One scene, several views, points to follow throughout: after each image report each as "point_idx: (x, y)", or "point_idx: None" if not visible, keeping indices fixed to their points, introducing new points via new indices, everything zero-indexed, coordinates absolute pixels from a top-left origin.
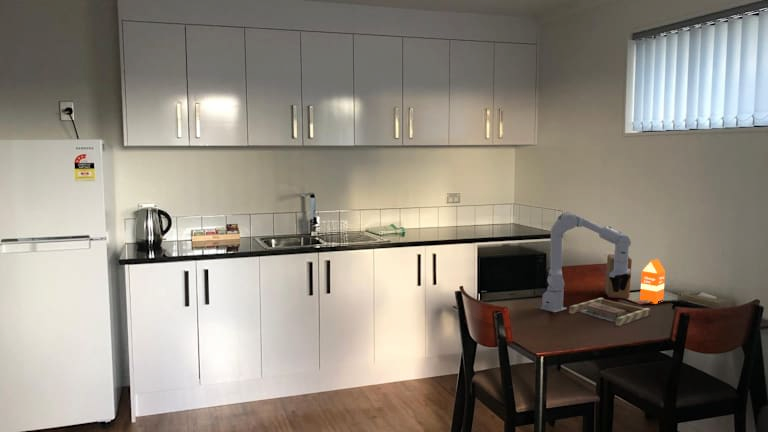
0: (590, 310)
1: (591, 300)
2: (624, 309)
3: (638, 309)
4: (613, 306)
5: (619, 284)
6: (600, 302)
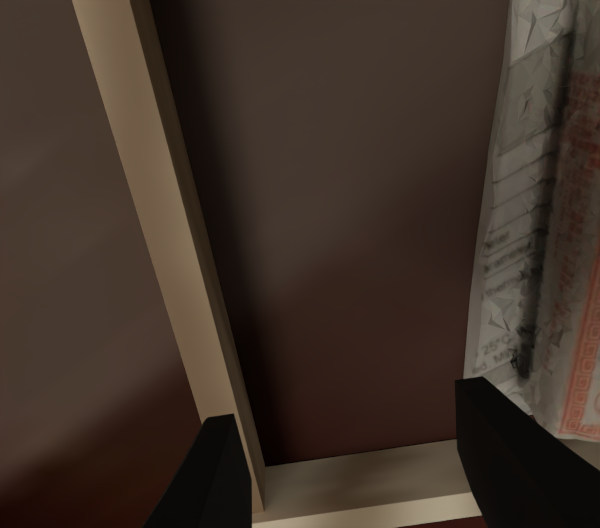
0: None
1: (425, 518)
2: (211, 257)
3: (154, 81)
4: (240, 374)
5: (587, 498)
6: (288, 487)
